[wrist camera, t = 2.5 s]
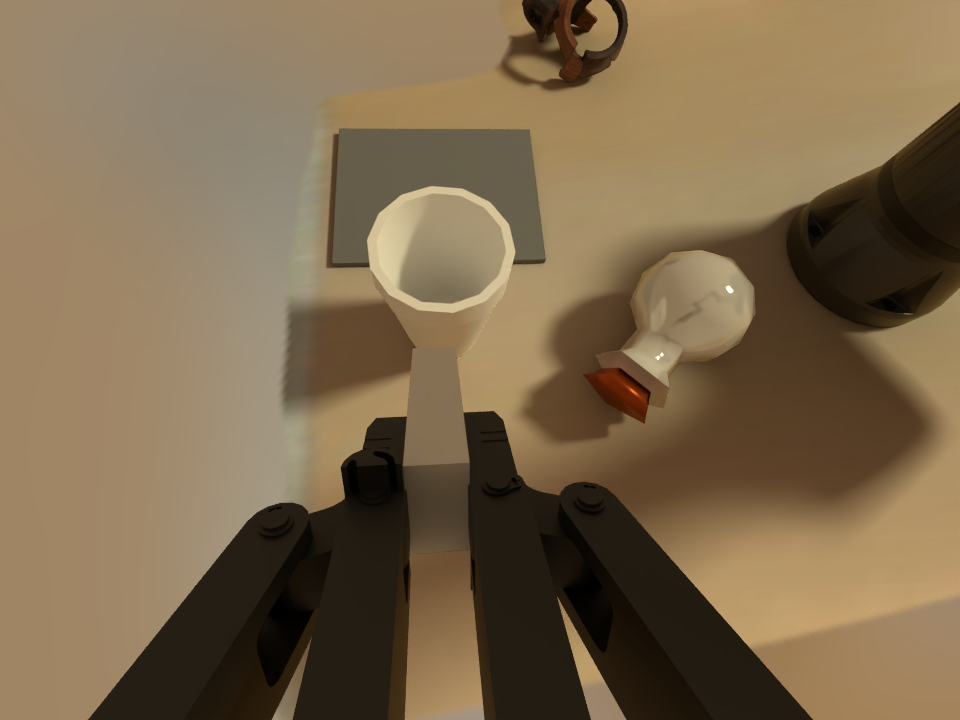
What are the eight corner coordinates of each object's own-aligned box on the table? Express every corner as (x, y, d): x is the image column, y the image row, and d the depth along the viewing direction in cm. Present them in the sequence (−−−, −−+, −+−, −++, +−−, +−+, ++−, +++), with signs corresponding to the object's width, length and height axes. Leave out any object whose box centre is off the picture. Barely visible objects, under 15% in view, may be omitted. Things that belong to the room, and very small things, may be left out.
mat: (544, 262, 45) (545, 259, 44) (333, 266, 43) (332, 263, 42) (528, 134, 50) (529, 129, 49) (340, 133, 48) (339, 128, 48)
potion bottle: (699, 303, 46) (608, 417, 43) (655, 227, 42) (551, 347, 39) (797, 310, 38) (691, 451, 35) (753, 216, 33) (630, 368, 31)
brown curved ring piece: (611, 33, 57) (647, -6, 49) (585, 110, 58) (617, 84, 50) (523, -13, 54) (546, -62, 46) (498, 69, 55) (516, 34, 47)
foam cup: (411, 392, 39) (395, 333, 27) (376, 301, 42) (347, 210, 30) (512, 354, 41) (538, 282, 29) (472, 269, 44) (481, 171, 32)
